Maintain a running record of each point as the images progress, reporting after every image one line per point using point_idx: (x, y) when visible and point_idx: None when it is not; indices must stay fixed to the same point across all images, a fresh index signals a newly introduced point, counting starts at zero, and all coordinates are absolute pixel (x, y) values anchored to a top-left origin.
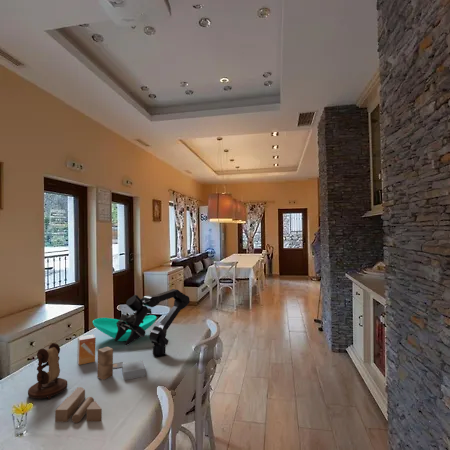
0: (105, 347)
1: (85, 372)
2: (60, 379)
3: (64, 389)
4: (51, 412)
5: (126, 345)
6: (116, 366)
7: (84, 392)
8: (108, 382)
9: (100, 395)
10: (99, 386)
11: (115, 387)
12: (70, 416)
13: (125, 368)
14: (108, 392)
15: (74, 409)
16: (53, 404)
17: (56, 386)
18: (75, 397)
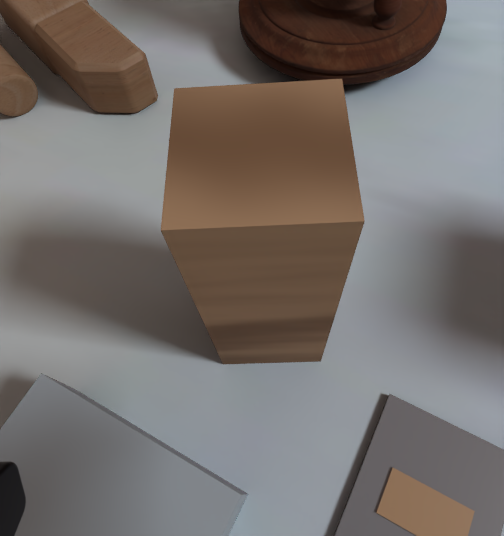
0: (338, 179)
1: (471, 247)
2: (354, 33)
3: (257, 56)
4: (131, 5)
5: (3, 505)
6: (384, 506)
7: (72, 72)
8: (153, 286)
9: (50, 178)
10: (156, 219)
11: (41, 282)
12: (13, 28)
13: (92, 438)
14: (33, 222)
15: (24, 36)
16: (189, 22)
17: (274, 3)
18: (36, 11)
